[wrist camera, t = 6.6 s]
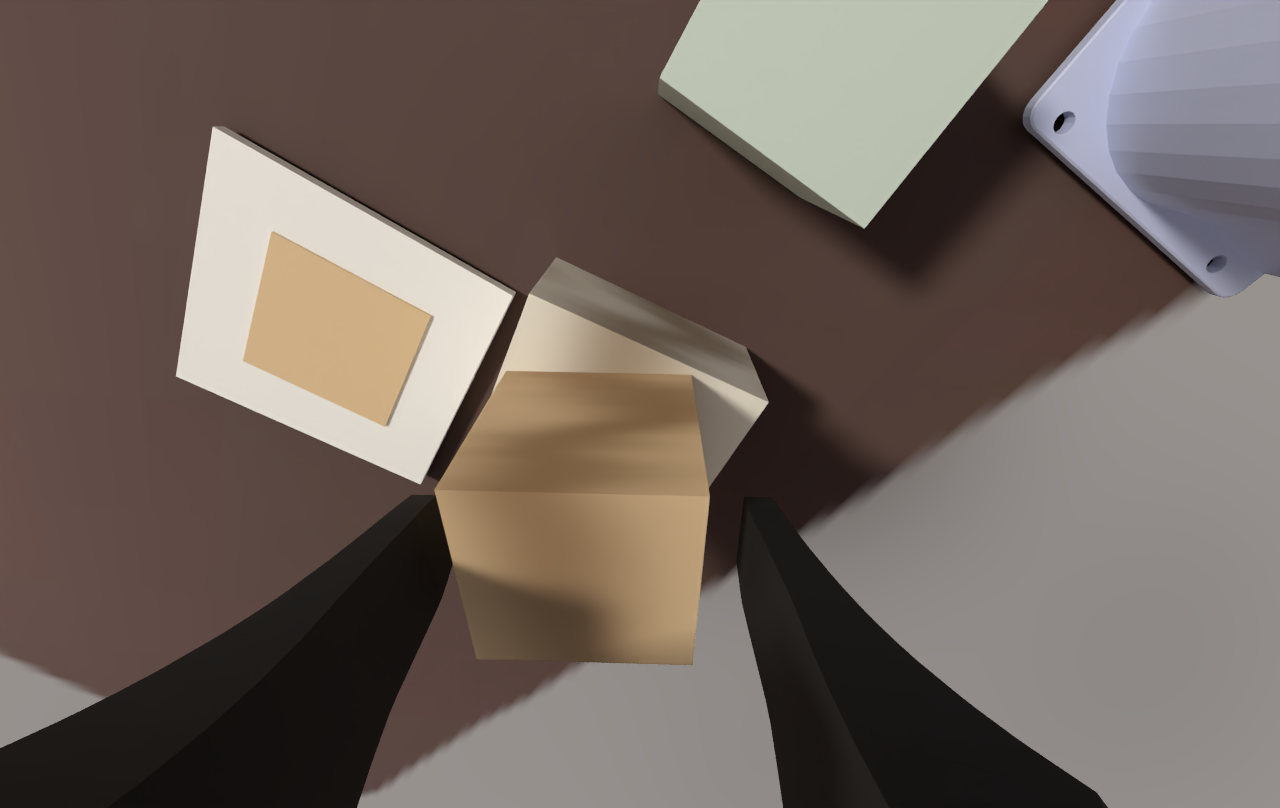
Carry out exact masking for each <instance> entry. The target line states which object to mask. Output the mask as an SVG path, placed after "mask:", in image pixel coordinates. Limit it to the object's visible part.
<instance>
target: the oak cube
mask: <svg viewBox="0 0 1280 808" xmlns="http://www.w3.org/2000/svg"><path fill="white" fill-rule="evenodd" d="M435 494H436V498H437V502H438V506H439V510H440V514H441V518H442V522H443V526H444V530H445V534H446V538H447V542H448V546H449V550H450V554H451V558H452V562H453V566H454V570H455V574H456V578H457V582H458V586H459V590H460V594H461V598H462V602H463V606H464V610H465V614H466V618H467V622H468V626H469V630H470V634H471V638H472V642H473V646H474V650H475V654H476V658H477V659H497V660H532V661H567V662H601V663H636V664H670V665H692V664H693V654H694V644H695V635H696V625H697V616H698V605H699V597H700V587H701V577H702V568H703V558H704V549H705V539H706V529H707V520H708V510H709V501H710V494H709V487H708V481H707V474H706V468H705V461H704V455H703V448H702V442H701V435H700V429H699V422H698V416H697V409H696V403H695V396H694V390H693V383H692V377H691V375H686V374H637V373H588V372H538V371H506V372H505V374H504V375H503V377H502V379H501V380H500V382H499V384H498V385H497V387H496V389H495V390H494V392H493V394H492V395H491V397H490V399H489V400H488V402H487V404H486V405H485V407H484V409H483V410H482V412H481V414H480V415H479V417H478V419H477V420H476V422H475V424H474V425H473V427H472V428H471V430H470V432H469V433H468V435H467V437H466V438H465V440H464V442H463V443H462V445H461V447H460V448H459V450H458V452H457V453H456V455H455V457H454V458H453V460H452V462H451V463H450V465H449V467H448V468H447V470H446V472H445V473H444V475H443V477H442V478H441V480H440V482H439V483H438V485H437V487H436V488H435Z"/></svg>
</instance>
